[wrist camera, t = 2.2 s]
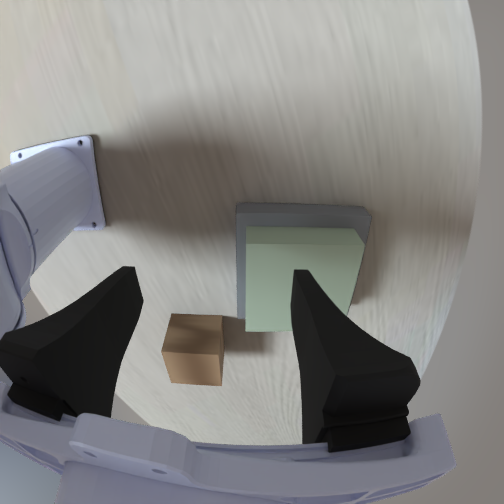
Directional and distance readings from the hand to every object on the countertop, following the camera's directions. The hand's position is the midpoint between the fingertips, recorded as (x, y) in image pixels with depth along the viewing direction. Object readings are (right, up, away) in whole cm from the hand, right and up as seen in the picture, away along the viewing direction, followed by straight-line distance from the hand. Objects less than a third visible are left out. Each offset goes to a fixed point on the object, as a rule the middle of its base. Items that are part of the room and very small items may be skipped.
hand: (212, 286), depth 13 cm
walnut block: (-4, -7, +16) cm, 18 cm away
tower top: (+5, 0, +10) cm, 11 cm away
